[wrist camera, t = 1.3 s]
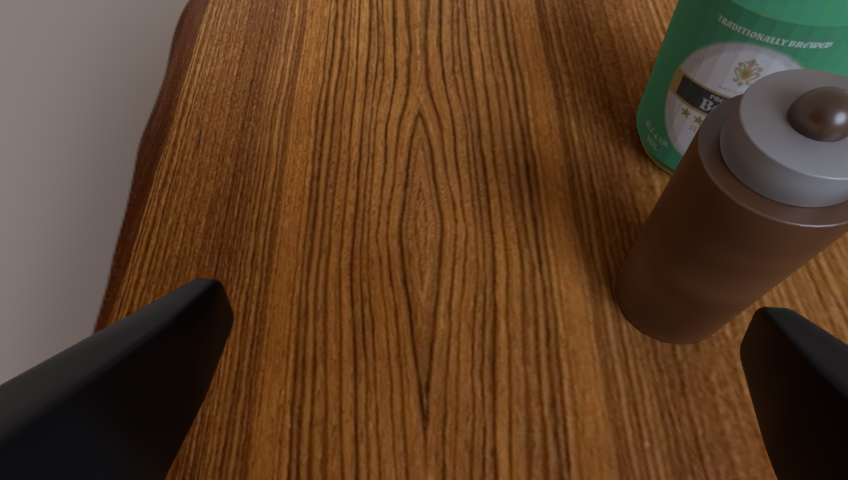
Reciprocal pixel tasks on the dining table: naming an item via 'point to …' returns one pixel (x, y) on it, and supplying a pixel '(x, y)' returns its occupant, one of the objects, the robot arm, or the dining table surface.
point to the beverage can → (731, 61)
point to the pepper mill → (742, 207)
